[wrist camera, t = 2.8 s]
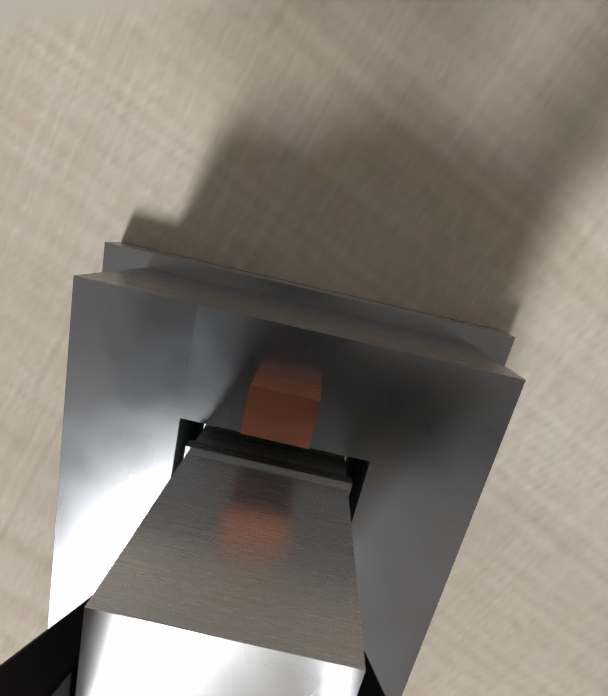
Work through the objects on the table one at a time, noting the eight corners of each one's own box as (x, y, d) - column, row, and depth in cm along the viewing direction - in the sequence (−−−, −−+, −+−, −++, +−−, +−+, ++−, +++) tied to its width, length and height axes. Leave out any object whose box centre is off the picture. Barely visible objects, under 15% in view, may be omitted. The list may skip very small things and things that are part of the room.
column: (346, 434, 12) (374, 666, 5) (315, 544, 13) (307, 854, 6) (214, 404, 12) (77, 600, 5) (194, 517, 13) (59, 799, 6)
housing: (501, 331, 14) (626, 389, 8) (406, 593, 17) (448, 771, 11) (120, 242, 14) (-25, 238, 8) (91, 522, 17) (-29, 664, 11)
